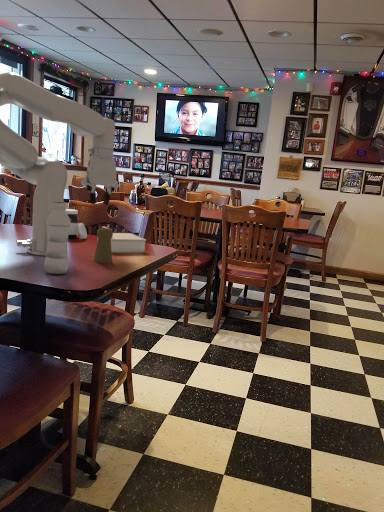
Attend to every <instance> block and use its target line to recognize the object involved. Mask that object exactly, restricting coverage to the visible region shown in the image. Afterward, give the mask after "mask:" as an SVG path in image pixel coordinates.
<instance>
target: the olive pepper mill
mask: <svg viewBox="0 0 384 512" xmlns="http://www.w3.org/2000/svg"><path fill="white" fill-rule="evenodd" d="M108 228H109V227H107V228H102V227H101V228H98V229H97V231H96V236H97V239H98V242H97V241H96V242H97V244H96V248H95V252H94V253H95V254H94V258H93V261H94V262H95V263H101V264H107V263H108V264H110V263H112V262H113V253H112V251H111V238H112V236H113V233H114V232H113V229H111V228H109V229H108Z"/></svg>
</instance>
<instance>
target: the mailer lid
mask: <svg viewBox="0 0 384 512" xmlns="http://www.w3.org/2000/svg"><path fill="white" fill-rule="evenodd" d="M101 228H108V229H110V228H109V227H107V226H105V225H104V226H101ZM111 241H145V242H147V238H143V237H140V236H138V235H137V234H133V233H130V232H127V233H126V232H113V236H112V238H111Z"/></svg>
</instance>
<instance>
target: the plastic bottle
mask: <svg viewBox="0 0 384 512" xmlns="http://www.w3.org/2000/svg"><path fill="white" fill-rule="evenodd" d="M52 208H53V211H52V212H51V213H50V214H49V216H48V217H47V220H46V224H47V234H48V246H47V254H46V256H45V259H44V265H43V266H44V270H45V272H46V273H48V274H52V275H62V274H66V273H67V271H68V269H69V263H70V262H69V256H68V240H69V238H68V234H69V229H70V223H71V222H70V218H69V216H68V215H67V213H66V212H65V210H66V209H67V202H65V201H63V202H58V201H53V202H52Z"/></svg>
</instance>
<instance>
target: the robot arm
mask: <svg viewBox="0 0 384 512" xmlns="http://www.w3.org/2000/svg"><path fill="white" fill-rule="evenodd" d="M7 104H12V105H14V106H16V107H18V108H20V109H23V110H25V111H27V112H29V113H32V114H33V115H34V116H38V117H39V118H41V119H44V120H47V121H50V122H57V123H62V124H67V125H69V128H70V130H71V132H72V133H73V134H75V135H77V136H79V137H92V145H91V148H88V150H87V152H88V153H90V155H91V156H89V159H88V162H87V168H86V175H85V177H84V178H83V179H82V180H81V185H82V186H83V187H85V188H86V190H87V191H88V192H89V202H90V204H92V205H96V198H97V197H96V196H97V195H96V187H97V186H102V187H103V186H104V192H105V193H103V201H102V204H103V205H106V206H108V205H109V203H110V196H111V194H112V193H113V192H115V190H116V189H118V188H120V185H119V183H118V181H117V165H116V164H117V163H116V159H115V158H114V148H115V146H114V145H115V144H114V143H115V134H116V133H115V131H116V123H115V120H113V119H111V118H108V117H104V116H102V114H101V113H100V112H97V111H95V110H94V109H92V108H90V107H89V106H87V105H85V104H83V103H81V102H77V101H75V100H73V99H69V98H66V97H64V96H61V95H59V94H56V93H54V92H52V91H50V90H48V89H47V88H44V87H42V86H41V85H39V84H37V83H35V82H33V81H32V80H29V79H28V78H26V77H25V76H22V75H21V74H18V73H16V72H4V73H0V107H2V106H4V105H7ZM0 165H1V166H2V167H3V168H5V169H7V170H8V171H10V172H12V173H13V174H15V176H18V177H20V178H21V179H23V180H24V181H25V182H28V183H30V184H32V185H35V186H36V187H35V190H34V192H33V193H34V194H33V199H32V201H33V202H32V223H31V224H32V228H31V229H32V231H31V232H32V233H31V237H29V239H26V240H16V247H22V248H26V252H27V253H28V254H30V255H36V256H45V257H46V254H47V246H48V234H47V224H46V220H47V217H48V216H49V214H50V213H51V212H52V211H53V208H52V202H53V201H58V202H65V201H64V198H65V192H66V191H65V190H66V187H67V182H68V171H67V168H66V166H65V164H64V163H63V162H61V161H60V160H59V159H57V158H54V157H45V156H44V157H43V156H42V157H41V156H39V153H38V149H37V148H36V146H35V145H34V144H33V143H32V142H30V141H29V140H28V139H26V138H24V137H23V136H21V135H20V134H19V133H17V132H16V131H14V130H13V129H11V127H9V126H8V125H7V124H5V123H4V122H3V121H2V119H0Z"/></svg>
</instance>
